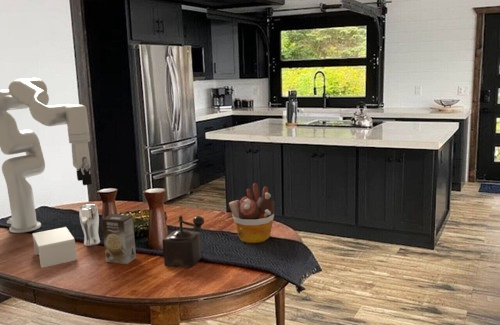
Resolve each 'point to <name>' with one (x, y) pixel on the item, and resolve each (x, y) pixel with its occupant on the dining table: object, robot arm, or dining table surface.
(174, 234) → the manual coffee grinder
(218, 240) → the dining table surface
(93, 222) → the beer glass
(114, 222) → the coffee box
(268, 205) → the bucket of meat
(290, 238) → the dining table surface
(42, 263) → the white block
